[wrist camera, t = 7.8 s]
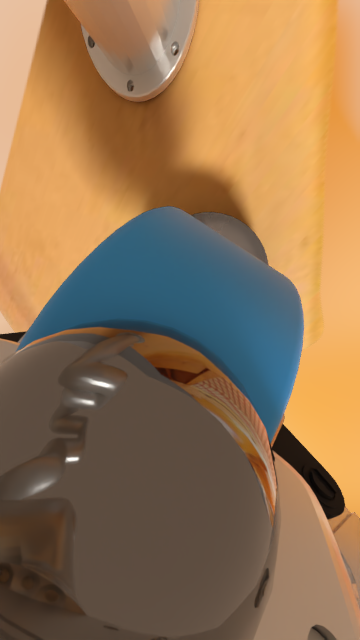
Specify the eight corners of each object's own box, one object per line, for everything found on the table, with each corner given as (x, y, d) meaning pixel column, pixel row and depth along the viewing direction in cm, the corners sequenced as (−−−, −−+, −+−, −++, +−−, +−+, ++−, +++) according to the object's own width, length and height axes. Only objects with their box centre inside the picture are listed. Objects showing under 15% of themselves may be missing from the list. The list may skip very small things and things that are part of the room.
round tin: (172, 205, 24) (156, 199, 19) (281, 229, 22) (295, 229, 17) (159, 300, 32) (144, 313, 27) (238, 324, 30) (239, 344, 25)
